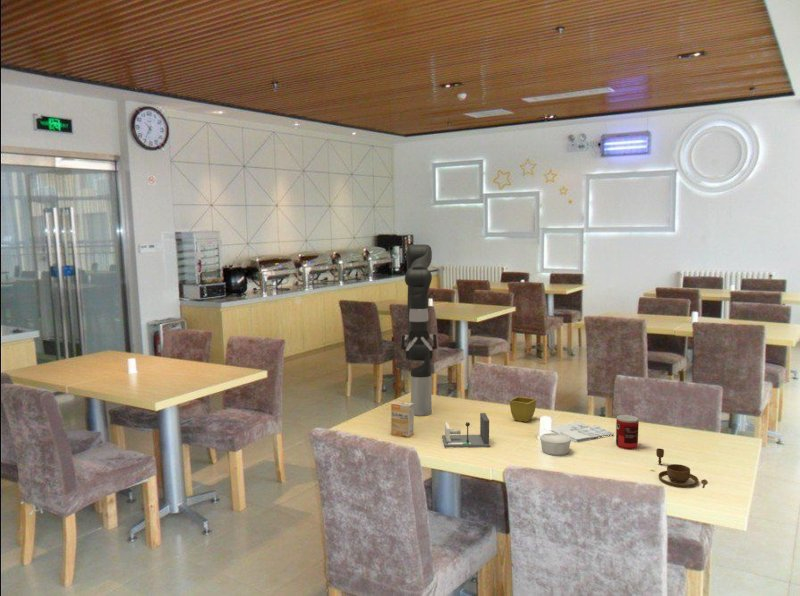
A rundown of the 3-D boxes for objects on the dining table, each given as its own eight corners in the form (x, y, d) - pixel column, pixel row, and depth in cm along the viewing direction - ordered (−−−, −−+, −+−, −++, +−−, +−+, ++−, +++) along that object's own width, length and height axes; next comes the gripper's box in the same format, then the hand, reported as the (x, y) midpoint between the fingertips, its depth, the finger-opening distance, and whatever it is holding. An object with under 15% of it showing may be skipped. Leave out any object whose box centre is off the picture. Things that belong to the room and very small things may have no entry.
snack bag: (575, 444, 248) (576, 438, 248) (543, 429, 266) (543, 424, 266) (614, 437, 256) (614, 431, 255) (580, 423, 274) (580, 418, 274)
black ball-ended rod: (465, 441, 246) (465, 421, 245) (469, 441, 246) (469, 421, 245) (465, 442, 244) (465, 422, 243) (470, 442, 244) (470, 422, 243)
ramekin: (563, 445, 245) (563, 431, 245) (576, 455, 234) (576, 441, 234) (535, 447, 243) (535, 433, 243) (547, 457, 232) (547, 443, 232)
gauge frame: (442, 437, 256) (441, 412, 254) (484, 436, 256) (484, 412, 255) (444, 447, 244) (444, 422, 243) (489, 447, 244) (489, 421, 243)
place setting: (646, 483, 209) (646, 466, 208) (654, 463, 226) (654, 447, 226) (706, 493, 201) (706, 475, 200) (709, 472, 218) (710, 455, 217)
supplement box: (390, 435, 260) (390, 403, 258) (396, 431, 264) (395, 400, 262) (408, 437, 256) (408, 405, 254) (414, 434, 260) (414, 402, 259)
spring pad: (444, 434, 254) (444, 422, 253) (459, 434, 254) (459, 422, 253) (447, 443, 244) (447, 430, 244) (461, 442, 244) (461, 429, 244)
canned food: (621, 441, 249) (622, 413, 248) (641, 446, 243) (642, 417, 242) (611, 446, 243) (612, 417, 242) (632, 451, 238) (633, 422, 237)
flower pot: (518, 416, 284) (518, 396, 283) (536, 419, 278) (536, 398, 278) (508, 421, 276) (509, 400, 276) (527, 424, 271) (528, 403, 270)
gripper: (435, 318, 261) (436, 357, 263) (400, 318, 261) (401, 358, 262) (437, 320, 253) (437, 361, 255) (401, 321, 253) (401, 361, 255)
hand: (419, 359), depth 259 cm, fingers open, 8 cm apart
